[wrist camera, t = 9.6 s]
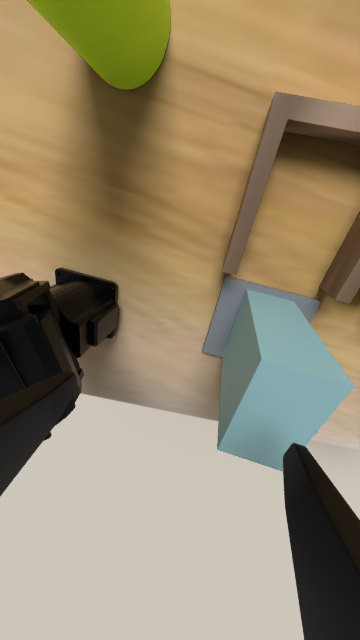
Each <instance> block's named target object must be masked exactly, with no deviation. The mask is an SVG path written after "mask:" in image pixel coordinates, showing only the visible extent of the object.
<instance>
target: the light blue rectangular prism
mask: <svg viewBox="0 0 360 640" xmlns="http://www.w3.org/2000/svg"><path fill="white" fill-rule="evenodd" d="M353 387H354V385H353V384H352V382H351V381H350V379H349V378H348V377H347V375H346V374H345V372H344V371H343V370H342V368H341V367H340V365H339V364H338V363H337V361H336V360H335V358H334V357H333V356H332V354H331V353H330V351H329V350H328V349H327V347H326V346H325V344H324V343H323V342H322V340H321V339H320V337H319V336H318V334H317V333H316V332H315V330H314V329H313V327H312V326H311V325H310V323H309V322H308V320H307V319H306V318H305V316H304V315H303V313H302V312H301V311H300V309H299V308H298V306H297V305H296V304H295V302H294V301H290V300H287V299H283V298H279V297H275V296H271V295H268V294H264V293H260V292H256V291H252V290H249V289H247V290H246V292H245V295H244V298H243V300H242V303H241V306H240V308H239V311H238V314H237V316H236V319H235V322H234V324H233V327H232V330H231V332H230V335H229V338H228V340H227V343H226V346H225V348H224V351H223V354H222V372H221V390H220V408H219V426H218V444H217V449H218V450H220V451H223V452H226V453H229V454H232V455H235V456H238V457H241V458H244V459H247V460H250V461H253V462H256V463H259V464H262V465H265V466H268V467H271V468H274V469H277V470H280V471H283V456H284V453H285V452H286V451H287V449H288V448H289V447H290V445H291V444H292V443H297V444H300V445H303V446H306V445H307V443H308V442H309V441H310V440H311V439H312V437H313V436H314V435H315V434H316V432H317V431H318V430H319V429H320V428H321V426H322V425H323V424H324V423H325V422H326V420H327V419H328V418H329V417H330V415H331V414H332V413H333V412H334V411H335V409H336V408H337V407H338V406H339V405H340V403H341V402H342V401H343V400H344V398H345V397H346V396H347V395H348V394H349V392H350V391H351V390H352V389H353Z"/></svg>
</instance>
